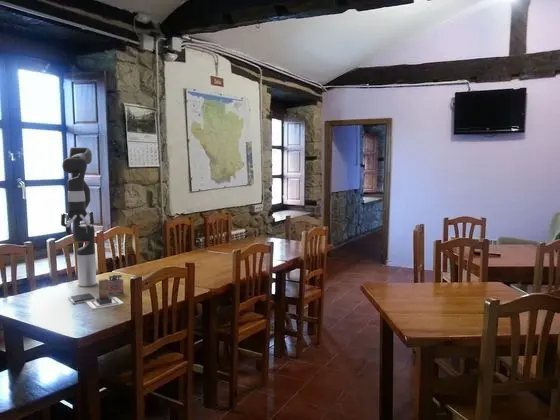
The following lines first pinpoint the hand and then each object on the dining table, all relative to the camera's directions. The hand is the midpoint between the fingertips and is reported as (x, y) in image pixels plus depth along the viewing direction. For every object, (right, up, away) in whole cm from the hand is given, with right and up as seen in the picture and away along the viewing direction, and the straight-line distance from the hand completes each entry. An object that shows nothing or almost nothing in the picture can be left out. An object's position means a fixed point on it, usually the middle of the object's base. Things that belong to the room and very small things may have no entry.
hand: (78, 234), depth 219 cm
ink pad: (0, -33, +6) cm, 33 cm away
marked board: (+13, -33, -1) cm, 36 cm away
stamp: (+13, -33, -1) cm, 35 cm away
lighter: (+13, -32, +15) cm, 37 cm away
